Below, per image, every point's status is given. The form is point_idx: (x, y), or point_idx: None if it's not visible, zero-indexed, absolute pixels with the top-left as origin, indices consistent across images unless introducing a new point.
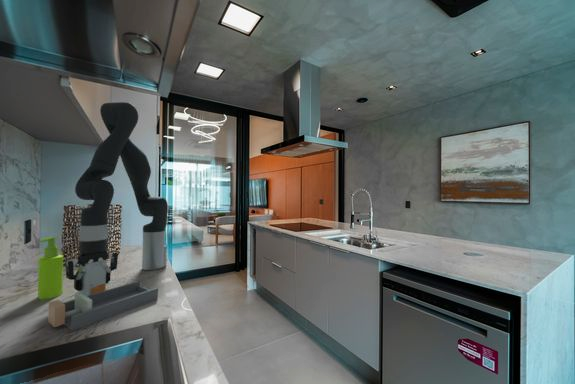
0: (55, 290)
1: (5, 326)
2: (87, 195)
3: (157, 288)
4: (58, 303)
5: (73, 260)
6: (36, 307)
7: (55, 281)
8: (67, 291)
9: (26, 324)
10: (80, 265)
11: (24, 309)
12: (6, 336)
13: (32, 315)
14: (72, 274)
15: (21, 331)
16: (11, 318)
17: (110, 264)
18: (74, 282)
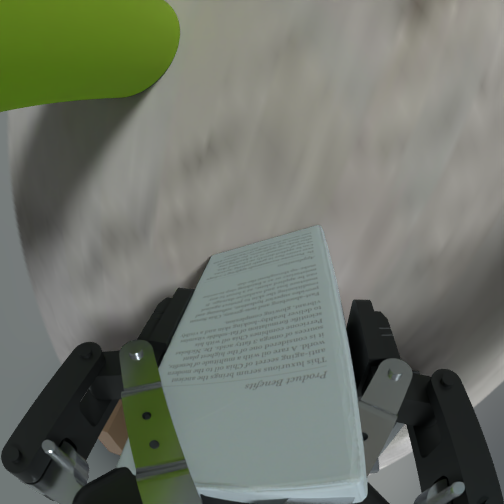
0: (112, 93)
1: (32, 285)
2: None
3: (375, 472)
4: (112, 444)
5: (58, 500)
6: (68, 191)
7: (66, 98)
8: (208, 37)
9: (69, 321)
10: (128, 455)
11: (42, 175)
12: (53, 342)
13: (67, 269)
14: (103, 415)
15: (71, 348)
16: (28, 236)
17: (438, 411)
18: (144, 335)
